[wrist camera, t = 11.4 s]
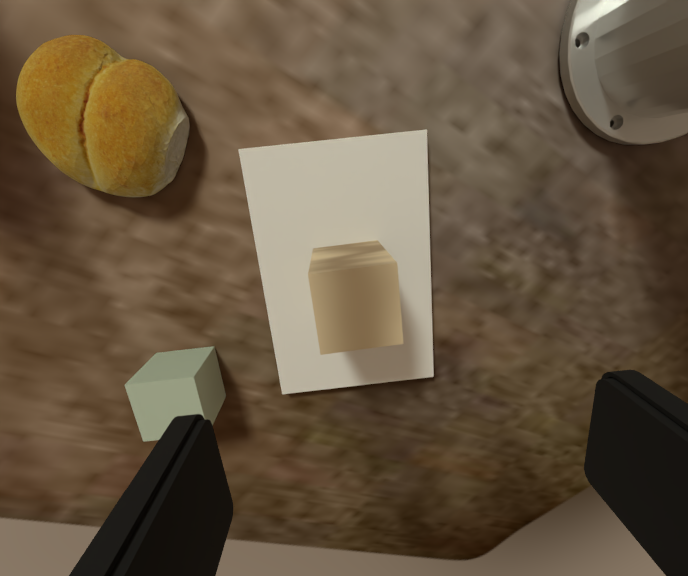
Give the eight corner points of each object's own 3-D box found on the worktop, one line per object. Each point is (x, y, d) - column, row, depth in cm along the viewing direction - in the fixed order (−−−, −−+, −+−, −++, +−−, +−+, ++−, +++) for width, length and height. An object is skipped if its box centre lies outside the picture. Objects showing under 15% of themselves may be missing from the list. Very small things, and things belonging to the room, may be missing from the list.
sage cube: (214, 345, 27) (193, 376, 23) (226, 395, 28) (208, 433, 24) (156, 352, 27) (124, 384, 23) (171, 401, 28) (143, 441, 24)
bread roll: (58, 22, 21) (-3, -14, 17) (205, 93, 22) (180, 75, 18) (31, 158, 23) (-28, 153, 19) (168, 215, 24) (139, 221, 20)
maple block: (377, 240, 24) (397, 262, 17) (383, 301, 25) (403, 344, 19) (313, 248, 24) (308, 274, 17) (322, 308, 25) (320, 354, 19)
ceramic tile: (422, 131, 23) (426, 129, 22) (430, 370, 28) (433, 376, 27) (242, 150, 23) (238, 149, 22) (283, 387, 28) (282, 394, 27)
